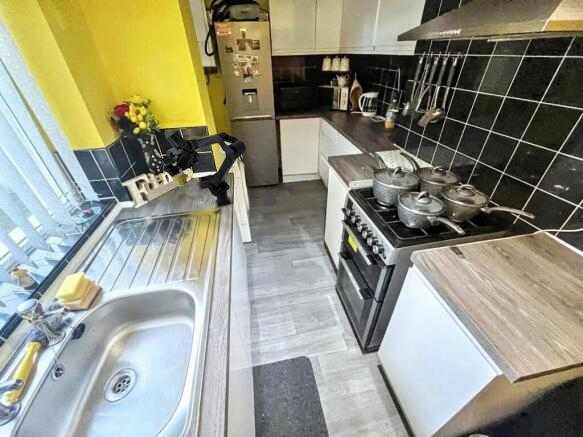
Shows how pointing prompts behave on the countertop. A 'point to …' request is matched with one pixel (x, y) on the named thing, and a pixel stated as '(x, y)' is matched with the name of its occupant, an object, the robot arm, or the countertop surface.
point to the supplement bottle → (181, 178)
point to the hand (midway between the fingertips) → (177, 173)
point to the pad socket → (204, 180)
